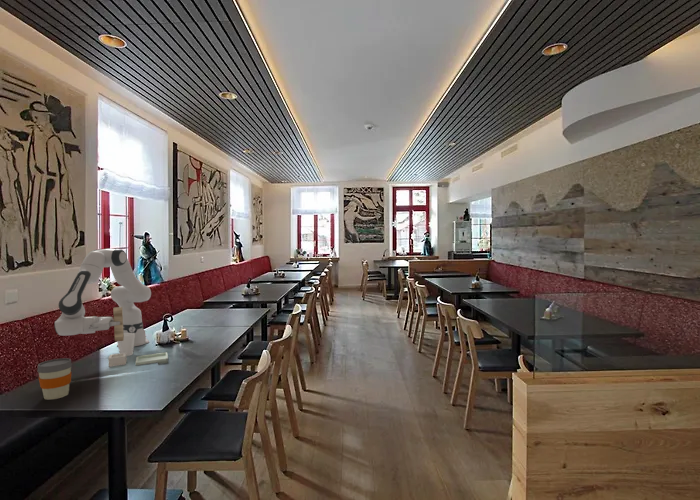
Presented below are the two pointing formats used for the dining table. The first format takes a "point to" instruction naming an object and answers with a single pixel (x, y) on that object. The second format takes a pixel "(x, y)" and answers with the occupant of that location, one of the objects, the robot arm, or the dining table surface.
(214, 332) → the dining table surface
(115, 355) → the white square container
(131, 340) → the foam cup
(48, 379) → the reusable coffee cup
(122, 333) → the tan wooden block
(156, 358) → the tray
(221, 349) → the dining table surface
